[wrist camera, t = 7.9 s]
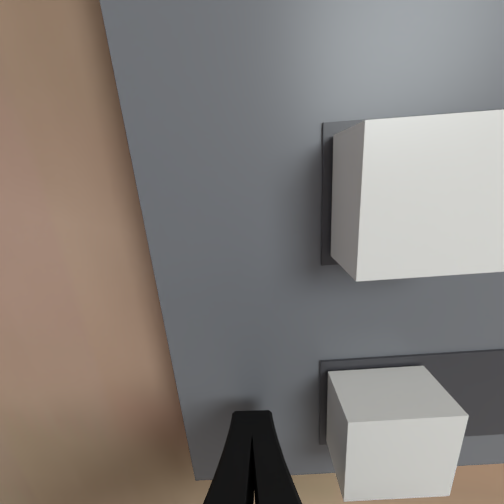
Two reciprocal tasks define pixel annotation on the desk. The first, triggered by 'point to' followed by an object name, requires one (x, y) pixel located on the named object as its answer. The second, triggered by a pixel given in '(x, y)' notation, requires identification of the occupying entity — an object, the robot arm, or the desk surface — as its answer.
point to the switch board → (297, 205)
